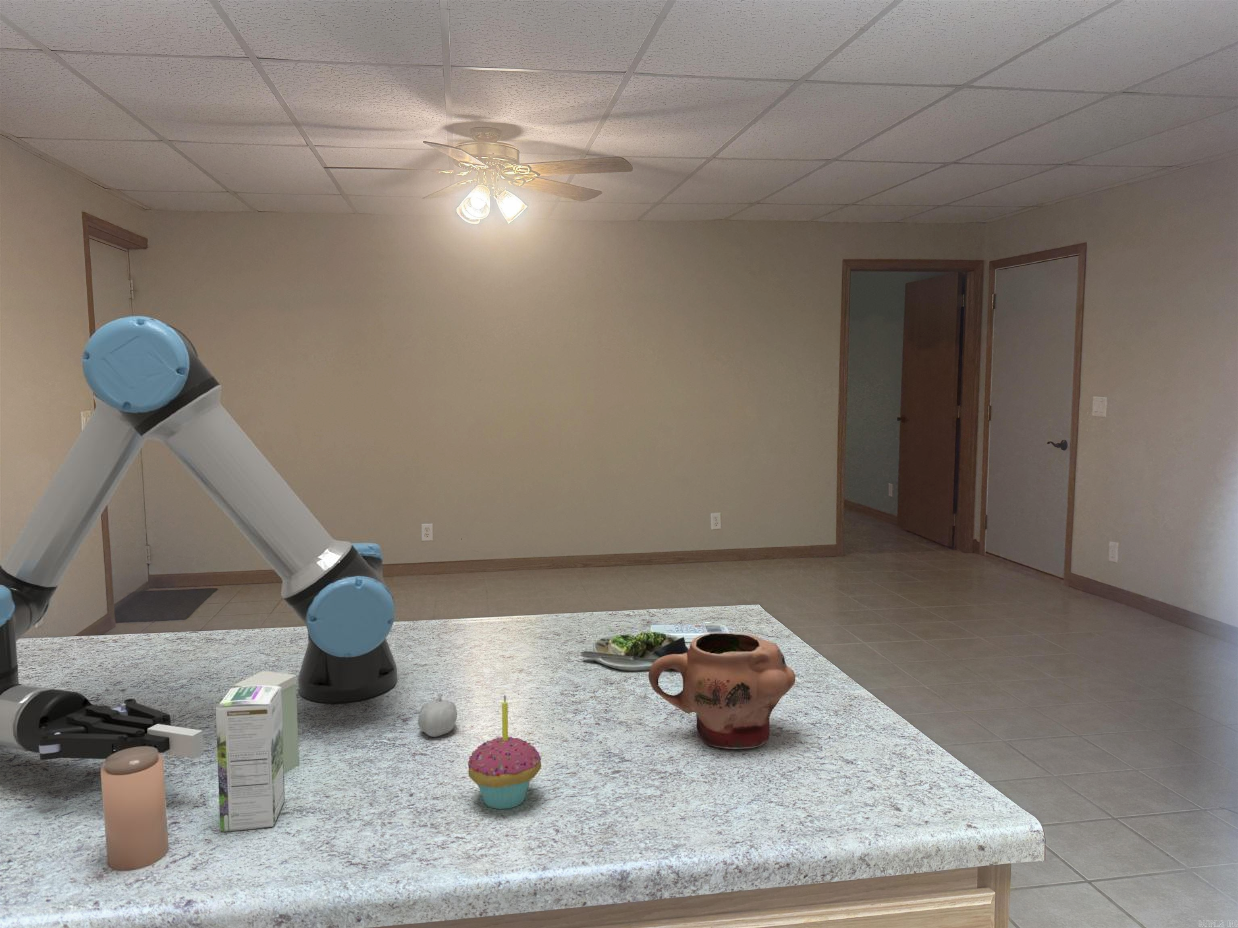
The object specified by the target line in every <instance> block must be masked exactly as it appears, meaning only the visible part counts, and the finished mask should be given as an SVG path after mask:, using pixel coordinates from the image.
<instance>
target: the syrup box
mask: <svg viewBox="0 0 1238 928" xmlns="http://www.w3.org/2000/svg"><path fill="white" fill-rule="evenodd" d="M215 723H216V725H215V726H216V745H217V746H216V751H217V757H216V758H217V780H218V782H217V783H218V802H219V806H218V808H219V809H218V810H219V830H220V831H221V832H233V831H243V830H246V831H247V830H253V829H254V830H255V829H263V828H271V827H275V825H276V823H277V820H278V818H279V815H280V813H281V811H282V808H283V806H284V804H285V799H286V798H285V797H286V796H285V795H286V793H285V792H286V791H285V774H284V762H283V727H282V700H281V687H280V686H266V685H258V686H244V687H237V688H233V687H231V688H230V689H229V691H227V693H226V694H225V696H224V697H223V699H222V700H221V701H220V702H219V704H218V705H217V706H216V708H215Z"/></svg>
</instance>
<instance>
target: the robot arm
mask: <svg viewBox="0 0 1238 928" xmlns="http://www.w3.org/2000/svg"><path fill="white" fill-rule="evenodd" d="M81 367H82V373H83V375H84V376H83V377H84V379H85V382H86V384H87V385H88V387H89V389H90V390H91V391H92V392H93V395H92V397H93V400H94V403H95V408H94V410H93V412H92V413H91V415H90V417H89V418H88V420H87V421H86V423H85V425H84V426H83V428H82V430H81V431H80V433H79V434H78V437H77V438H76V440H75V441H74V443H73V444H72V446H71V448H70V450H69V452H68V453H67V454H66V456H65V457H64V459H63V461H62V463H61V465H59V468H58V469H57V471H56V473H55V474H54V476H53V478H52V479H51V481H50V482H49V484H48V485H47V488H46V489H45V490H44V492H43V494H42V495H41V497H40V499H39V500H38V502H37V504H36V505H35V507H34V508H33V510H32V512H31V513H30V515H29V516H28V518H27V521H26V522H25V524H23V527H22V529H21V530H20V532H19V534H18V535H17V536H16V538H15V540H14V541H13V543H12V545H11V546H10V548H9V550H8V552H6V555H5V557H4V558H3V559H2V561H1V562H0V747H3V748H11V749H16V750H21V751H24V752H31V753H34V754H35V753H36V754H39V759H40V760H41V761H47V760H53V759H54V760H56V759H83V760H84V759H86V760H87V759H88V760H89V759H90V760H106V759H107V758H108V757H109V756H110V755H112V754H114V753H116V752H118V751H121V750H124V749H128V748H133V747H140V746H149V747H154V748H156V749H157V750H158V753H159V754H164V755H168V756H169V755H170V756H175V757H176V756H177V757H182V758H190V759H195V758H197V757H199V756H201V755H203V754H204V752H205V751H204V737H203V736H204V734H203V730H201V729H193V728H187V727H181V726H174V725H172V723H171V722H172V721H171V714H169V713H167V712H163V711H161V710H158V709H155V708H152V707H150V706H146V705H143V704H141V703H138V702H137V701H136V699H135V698H126V699H125V700H124V701H123V703H122V704H120V706H119V707H114V708H112V707H111V706H110V705H105V704H101V705H98V704H93V703H92V702H91V701H90V700H88V698H87V697H86V696H85V695H83V694H81V693H80V692H76V691H71V690H64V689H55V688H51V687H46V686H44V687H43V686H36V685H27V684H24V683H20V681H19V662H18V649H17V642H18V640H19V639H20V638H22V636H23V635H25V633H26V632H27V631H29V629H31V628H32V627H34V626H35V625H37V624H38V623H39V622H40V621H41V620H42V618H43V617H44V615H45V614H46V613H47V611H48V609H49V606H50V604H51V600H52V597H53V596H54V594H55V592H56V590H57V588H58V587H59V585H60V584H61V581H62V580H63V578H64V576H65V575H66V573H67V571H68V570H69V568H70V567H71V565H72V563H73V561H74V560H75V559H76V557H77V555H78V553H79V552H80V550H81V549H82V547H83V545H84V543H85V542H86V540H87V538H88V537H89V535H90V534H91V532H92V530H93V529H94V527H95V525H96V524H97V522H98V521H99V519H100V517H101V515H102V514H103V513H104V510H105V509H106V507H107V506H108V504H109V502H110V501H111V499H112V497H113V495H114V494H115V492H116V491H117V489H118V487H119V486H120V484H121V482H122V481H123V480H124V477H125V476H126V474H127V473H128V471H129V469H130V467H131V466H132V464H133V462H134V461H135V459H136V458H137V456H138V454H139V453H140V451H141V449H143V446H144V445H145V443H146V441H147V440H151V441H156V442H157V441H159V442H161V443H163V444H164V445H165V446H166V447H167V449H168V450H169V451H170V452H171V454H173V455H174V457H175V458H176V459H177V460H178V462H180V464H182V466H183V468H185V469H186V470H187V472H188V473H189V474H190V475H191V476H192V477H193V479H194V480H195V481H196V482H197V483H198V484H199V486H201V488H202V489H203V490H204V491H205V492H206V493H207V495H208V496H209V497H210V499H212V500H213V501H214V503H215V504H216V505H217V506H218V507H219V509H220V510H221V511H223V513H224V514H225V515H226V517H227V518H229V520H230V521H231V522H232V523H233V525H234V526H235V528H237V529H238V530H239V532H241V533H242V535H243V536H244V537H245V538H246V539H247V540H248V542H249V543H250V544H251V545H252V546H253V547H254V549H255V550H256V551H257V552H258V553H259V554H260V555H261V557H262V558H263V559H264V561H265V562H266V563H268V565H269V566H270V567H271V568H272V570H273V571H274V572H276V574H277V575H278V576H279V577H280V578H281V581H282V583H281V591H280V595H281V597H282V598H283V600H284V601H285V602H286V603H287V604H288V605H289V606H290V608H291V609H292V610H293V611H294V612H295V613H296V615H298V618H300V619H301V620H302V621H303V623H304V624H305V625H306V630H307V635H308V637H307V641H308V642H307V645H306V650H305V653H304V657H303V660H302V664H301V667H300V670H299V674H298V679H297V684H298V694H299V695H300V696H301V697H302V698H304V699H306V700H310V701H313V702H319V703H331V704H333V703H335V704H336V703H348V702H349V703H350V702H355V701H361V700H367V699H369V698H373V697H376V696H379V695H382V694H384V693H386V692H388V691H390V690H391V689H392V688H394V687H395V686H396V684H397V683H398V668H397V667H398V666H397V664H396V660H395V659H394V656H393V653H392V650H391V648H390V645H389V643H388V641H387V637H388V635H390V632H391V630H392V628H393V626H394V621H395V613H396V611H395V610H396V607H395V599H394V596H393V595H392V593H391V591H390V590H389V588H388V586H387V584H386V581H385V579H384V575H383V573H384V572H383V562H384V556H383V553H382V548H381V545H379V544H377V543H375V542H373V543H372V542H351V541H345V540H337V539H334V538H333V537H332V536H331V535H330V534H329V532H328V531H327V530H326V529H325V528H324V526H323V525H322V524H321V523H320V522H319V520H318V519H317V518H316V517H315V516H314V515H313V513H312V512H311V510H310V509H309V508H308V507H307V506H306V504H305V503H304V502H303V500H301V499H300V498H299V496H298V495H297V494H296V493H295V492H294V491H293V489H292V488H291V486H290V485H289V484H288V483H287V482H286V480H284V478H283V477H282V476H281V475H280V473H279V472H277V470H276V469H275V467H273V465H272V464H271V463H270V461H269V460H268V459H267V458H266V457H265V456H264V454H263V453H262V452H261V451H260V450H259V448H258V447H257V446H256V445H255V444H254V442H253V441H252V440H251V439H250V437H249V436H248V435H247V434H246V433H245V432H244V430H243V429H242V428H241V426H239V424H238V423H237V422H236V420H235V419H234V418H233V417H232V415H230V413H229V412H228V411H227V410H226V409H225V407H224V406H223V405H222V403H221V394H222V388H223V387H222V386H221V384H220V383H219V382H218V380H217V379H216V378H215V376H213V374H212V373H211V372H210V371H209V369H208V368H207V367H206V366H205V364H204V363H203V362H202V361H201V359H200V358H199V354H198V351H197V349H196V347H195V346H194V344H193V342H192V341H191V339H189V338H188V337H187V335H186V334H184V333H183V332H182V331H181V330H179V329H177V328H176V327H174V326H173V325H169V324H167V323H164V322H163V321H161V320H158V319H156V318H152V317H149V316H144V315H143V316H142V315H136V316H135V315H131V316H125V317H121V318H117V319H115V320H112V321H110V322H107V323H106V324H104V325H103V326H101V327H99V328H98V329H97V330H96V331H95V332H94V333H93V334H92V335H91V336H90V337H89V339H88V341H87V342H86V344H85V347H84V350H83V353H82V358H81Z"/></svg>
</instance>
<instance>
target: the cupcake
mask: <svg viewBox="0 0 1238 928" xmlns="http://www.w3.org/2000/svg"><path fill="white" fill-rule="evenodd" d="M506 698H507V696H506V694H505V695H503V702H501V716H502V719H501V723H502V724H501V725H502V727H501V729H502V732H501V733H502V734H501V735H502V737H496V738H493V739H491V740H486V741H485V742H483V743H482V744H480V745H478V746H477V748H476V749H475V750H473V751H472V753H471V755H469V757H468V762H467V765H468V770H467V771H468V772H467V775H468V776H469V778H470V779H471V781H473V783H475V784H476V785H477V787H478V788H479V790H480V793H481V796H482V799H483V802H484V804H485V805H486V806H487V807H489V808H491V809H496V810H507V809H512V808H516V807H517V806H520V805H521V804H522V803H523V802H524V800H525V798H526V794H527V790H528V787H529V785H530V782H531V781H532V780H533V779H534V778H535V777H536V776H537V775H538V773H539V772H540V770H541V769H542V761H541V760H542V757H541V755H540V752H539V751H538V750H537V749H536V747H535V746H534V745H532V744H531V742H527V740H524V739H521V738H518V737H512V736H511V737H510V736H509V720H508V719H509V713H508V712H509V711H508V709H509V706H508V704H509V702H507V701H506Z"/></svg>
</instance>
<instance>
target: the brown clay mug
mask: <svg viewBox="0 0 1238 928" xmlns="http://www.w3.org/2000/svg"><path fill="white" fill-rule="evenodd" d="M688 649H689V651H688V652H687V653H684V654H671V655H666V656H663V657H661V658H659V659H657V660H656V661H655V662H654V663H653V664H652V666H651V668H650V670H648V682H649V684H650V686H651V688H652V690H653V691H654V692H655V693H656V694H657V695H659V696H660V697H661V698H662V699H663V700H665V701H667V702H668V703H669V704H671V705H672V706H674V707H675V708H676V709H679V710H681V711H682V713H683V712H684V713H686V714H692V713H695V714H696V726H695V727H696V732H697V733H698V735H699V737H700V739H701V740H702V741H703V742H704V743H706V744H707V745H709V746H712V747H715V748H723V749H731V750H740V749H752V748H757V747H761V746H763V745H764V744H765V743H766V742H768V740H769V738H770V730H771V727H770V726H771V725H770V717H771V714H772V711H773V710H774V709H775V707H777V705H778V703H779V702H780V700H781V698H782V697H784V696H785V695H786V694H787V693H788V692H789V691H790V690H791V689H792V688H793V686H795V684H796V675H795V672H794V670H793V669H792V668H791V667H790V666H788V665H787V663H786V660H785V659H786V658H785V655H784V654H783V652H782V650H781V649H780V647H779V646H778V645H777V644H776V642H775V643H774V642H772V641H769V640H766V639H762V638H760V637H758V636H756V635H752V634H743V633H741V634H740V633H727V632H714V633H712V632H711V633H705V634H701V635H698V636H696V637H695V638H693V639H692V641H691V642H690V643H689V648H688ZM667 670H675V671H677V672H679V674H680V675H681V678H682V690H681V691H680V692H679V693H677V694H673V695H672V694H669V693H667V692H665V691H664V690H663V689H662V688H661V687H660V686H659V679H660V676H661V675H662V673H664V671H667Z"/></svg>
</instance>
